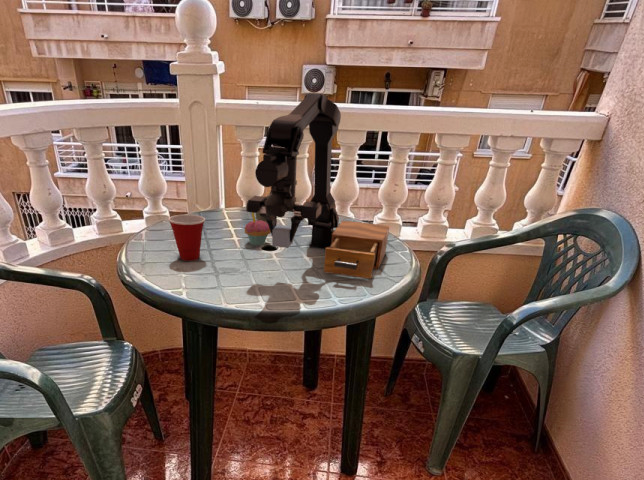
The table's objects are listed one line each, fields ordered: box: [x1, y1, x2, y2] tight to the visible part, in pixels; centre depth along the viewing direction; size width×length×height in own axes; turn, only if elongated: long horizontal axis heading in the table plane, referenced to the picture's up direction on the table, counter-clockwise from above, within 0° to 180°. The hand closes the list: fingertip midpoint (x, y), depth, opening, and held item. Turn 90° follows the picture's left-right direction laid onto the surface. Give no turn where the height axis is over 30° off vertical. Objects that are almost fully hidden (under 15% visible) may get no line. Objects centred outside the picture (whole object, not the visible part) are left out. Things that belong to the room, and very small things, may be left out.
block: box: [271, 224, 294, 249], centre depth 129 cm, size 4×4×4 cm
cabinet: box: [331, 219, 391, 270], centre depth 147 cm, size 14×15×9 cm
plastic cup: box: [167, 214, 206, 262], centre depth 145 cm, size 11×11×12 cm
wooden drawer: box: [323, 237, 379, 279], centre depth 137 cm, size 17×13×7 cm
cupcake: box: [244, 212, 271, 246], centre depth 156 cm, size 9×8×12 cm
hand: (282, 240), depth 130 cm, fingers closed on block, 4 cm apart
